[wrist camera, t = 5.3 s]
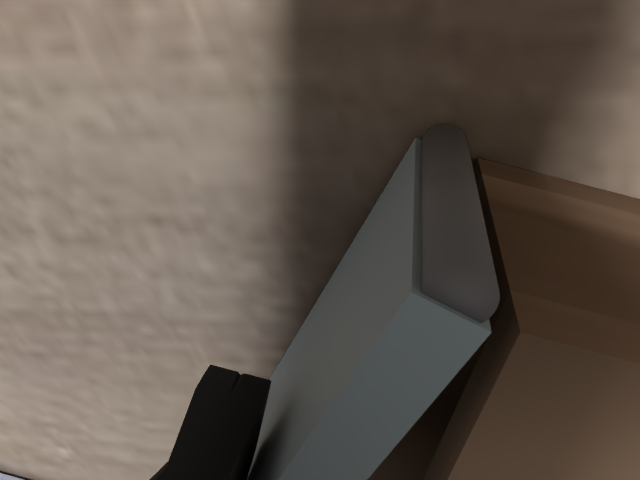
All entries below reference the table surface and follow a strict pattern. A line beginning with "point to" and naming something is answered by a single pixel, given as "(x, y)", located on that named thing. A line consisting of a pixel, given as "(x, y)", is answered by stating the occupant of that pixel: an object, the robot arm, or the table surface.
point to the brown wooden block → (543, 344)
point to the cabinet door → (385, 323)
